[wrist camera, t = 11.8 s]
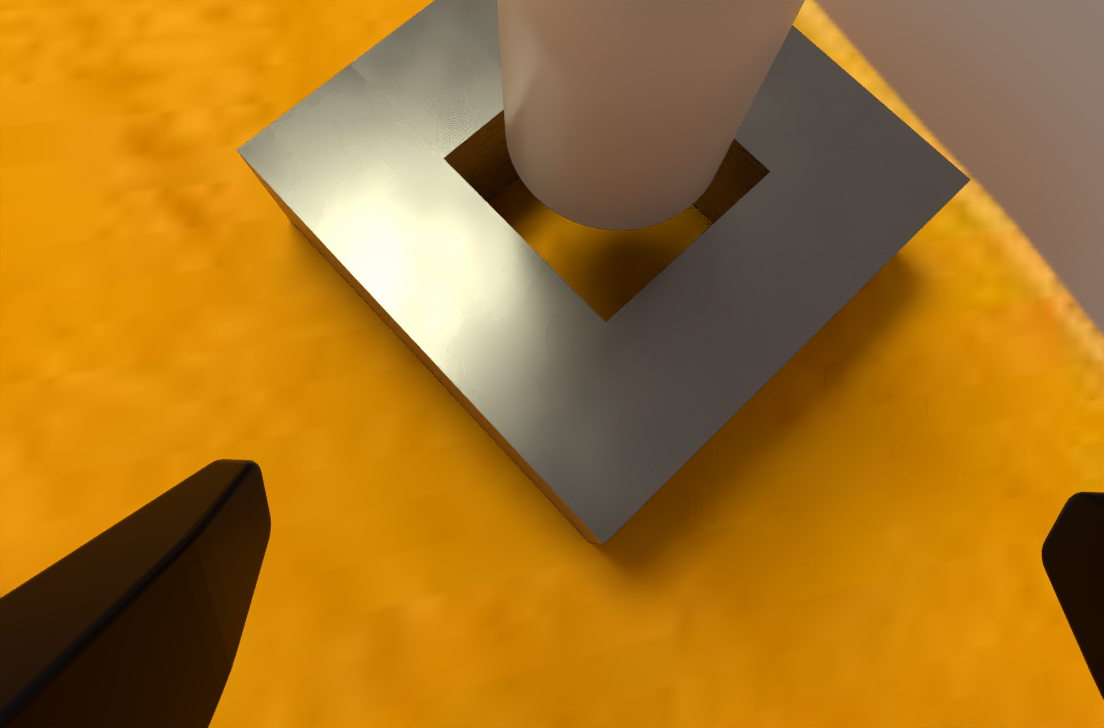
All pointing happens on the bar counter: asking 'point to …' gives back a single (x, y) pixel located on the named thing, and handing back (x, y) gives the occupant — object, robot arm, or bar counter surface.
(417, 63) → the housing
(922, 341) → the bar counter surface
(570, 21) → the grey peg
